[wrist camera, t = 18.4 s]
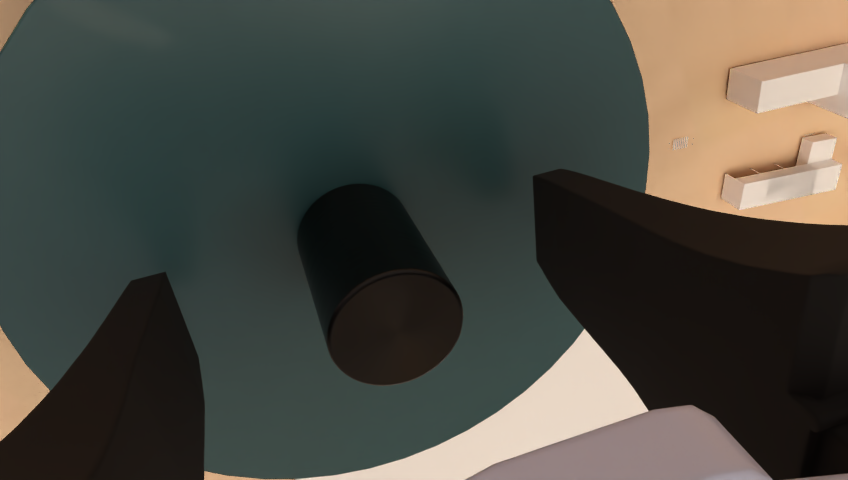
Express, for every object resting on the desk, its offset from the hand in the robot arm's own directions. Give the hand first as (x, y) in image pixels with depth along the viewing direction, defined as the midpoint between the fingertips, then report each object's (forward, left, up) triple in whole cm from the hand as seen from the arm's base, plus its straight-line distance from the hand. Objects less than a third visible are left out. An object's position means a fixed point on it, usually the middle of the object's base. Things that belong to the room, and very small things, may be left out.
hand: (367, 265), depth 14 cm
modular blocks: (+18, +16, -8) cm, 25 cm away
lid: (0, 0, -2) cm, 2 cm away
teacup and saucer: (+20, -9, -8) cm, 23 cm away
